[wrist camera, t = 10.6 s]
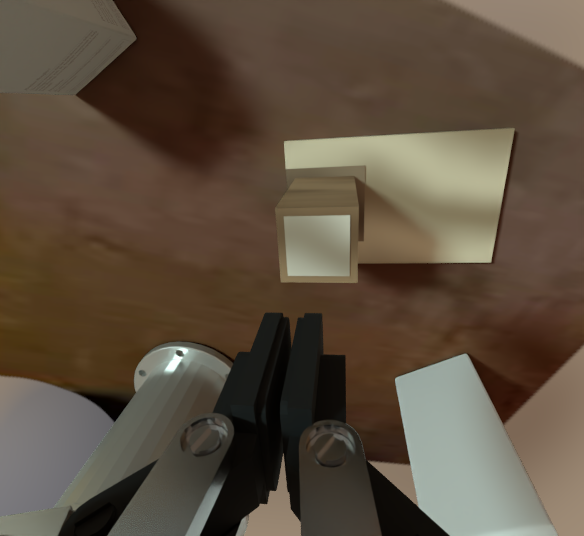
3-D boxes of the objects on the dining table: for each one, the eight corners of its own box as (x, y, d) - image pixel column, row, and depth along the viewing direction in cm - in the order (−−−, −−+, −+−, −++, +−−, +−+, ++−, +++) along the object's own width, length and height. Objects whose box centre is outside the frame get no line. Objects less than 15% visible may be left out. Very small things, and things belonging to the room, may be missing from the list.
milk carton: (493, 404, 35) (637, 694, 18) (423, 425, 37) (491, 700, 20) (466, 351, 33) (600, 621, 16) (393, 376, 35) (441, 636, 18)
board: (488, 259, 29) (491, 262, 28) (293, 261, 31) (292, 264, 31) (511, 127, 25) (515, 128, 24) (285, 140, 27) (283, 141, 27)
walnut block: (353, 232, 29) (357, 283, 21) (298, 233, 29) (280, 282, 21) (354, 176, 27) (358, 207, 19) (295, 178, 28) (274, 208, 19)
